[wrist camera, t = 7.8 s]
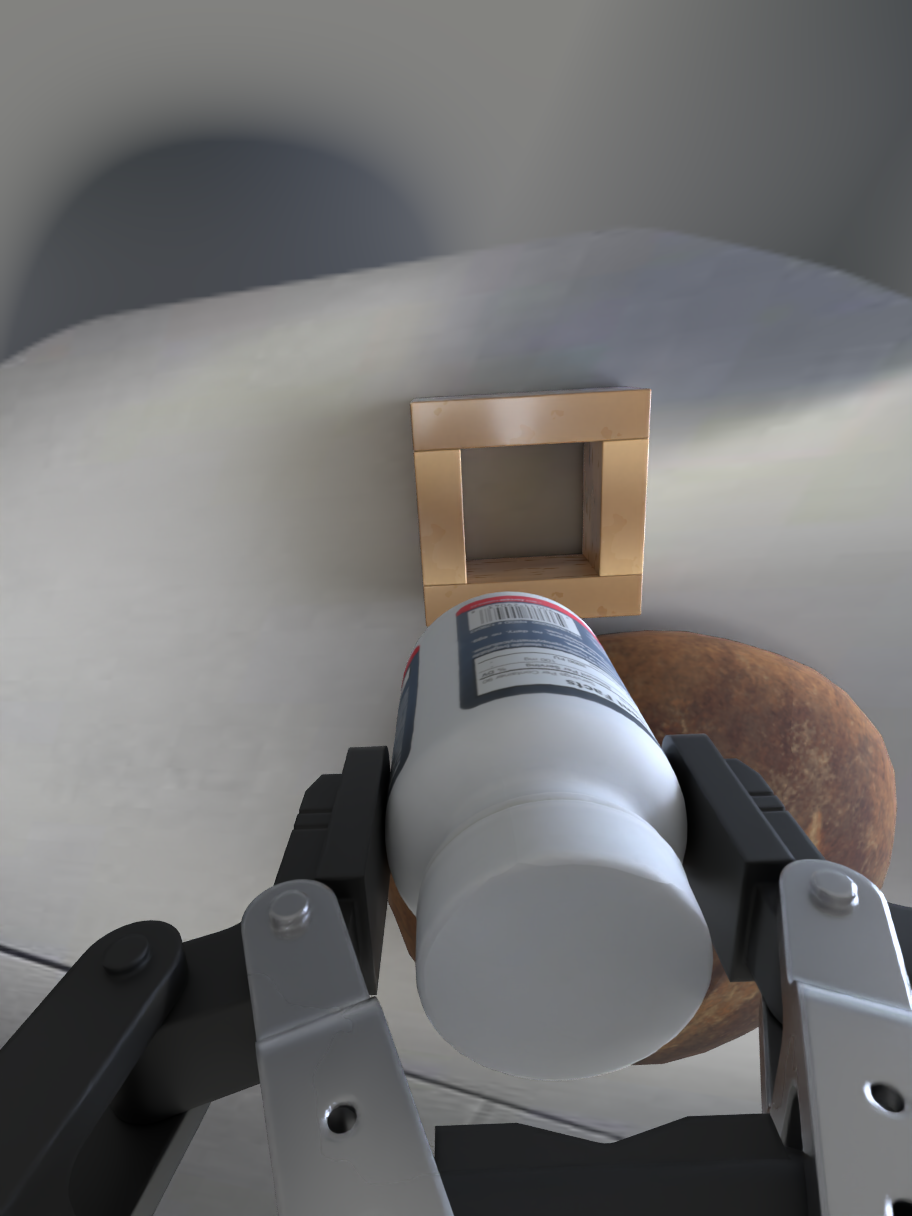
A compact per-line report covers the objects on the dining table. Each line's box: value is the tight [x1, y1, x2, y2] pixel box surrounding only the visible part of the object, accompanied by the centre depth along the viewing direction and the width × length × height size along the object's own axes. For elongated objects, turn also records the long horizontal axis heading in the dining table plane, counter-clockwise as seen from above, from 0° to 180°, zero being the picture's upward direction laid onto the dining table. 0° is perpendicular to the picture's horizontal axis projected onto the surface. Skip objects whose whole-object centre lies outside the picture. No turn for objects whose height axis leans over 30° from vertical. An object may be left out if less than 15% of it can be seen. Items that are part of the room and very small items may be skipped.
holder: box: [410, 386, 651, 627], centre depth 31 cm, size 10×10×4 cm
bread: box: [388, 630, 897, 1065], centre depth 35 cm, size 28×27×9 cm
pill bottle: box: [385, 592, 713, 1081], centre depth 13 cm, size 5×5×9 cm
